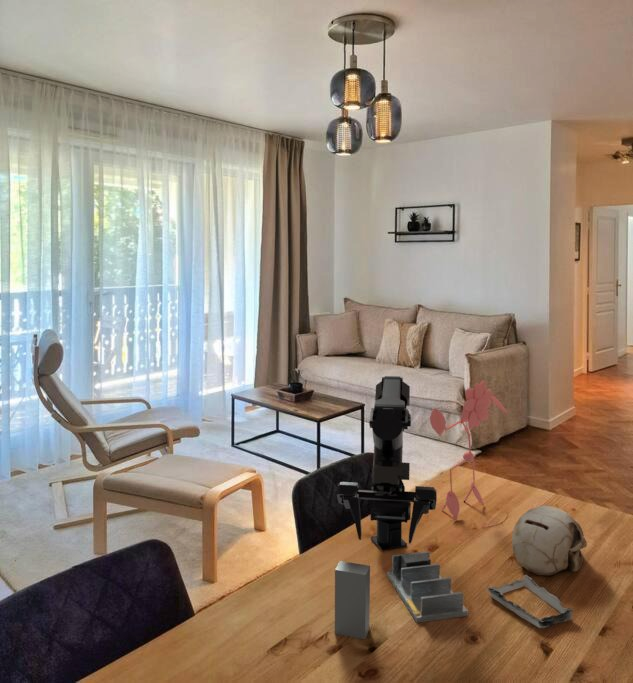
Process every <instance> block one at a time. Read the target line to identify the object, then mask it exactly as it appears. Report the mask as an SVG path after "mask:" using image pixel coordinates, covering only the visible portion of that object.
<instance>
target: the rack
mask: <svg viewBox="0 0 633 683" xmlns="http://www.w3.org/2000/svg"><path fill="white" fill-rule="evenodd" d="M430 555H431V554H430V551H429V550H428V551H420V552H419V551H418V552H412V553H411V552H409V553H402V554H393V555H392V556H391V557H392V559H391V560H392V561H391V563H392V564H391V570H387V572H386V573H387V574H386V576H387V579H389V580H390V583H391V584H392V586H393V588H394V589H395V590H396V592H397V593H398V595H399V596H400V598H401V600H402V602H403V604H404V605H405V607H406V608H407V609H408V611H409V613H410V615H411V616H412V618H413V619H414V621H415V622H416V624H418V623H426V622H433V621H439V620H448V619H453V618H461V617H468V616H469V610H468V609H467V608H466V607H465V605H464V593H463V592H462V591H458V592H453V590H452V589H451V588H452V578H451V576H448V577H442V576H441V575H440V573H441V571H440V569H441V566H440V565H441V564H440V563H433V564H432V562H431V561H432V560H431V558H430Z"/></svg>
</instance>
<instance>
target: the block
mask: <svg viewBox="0 0 633 683" xmlns="http://www.w3.org/2000/svg"><path fill="white" fill-rule="evenodd" d="M370 587H371V566H370V565H368V564H361V563H355V562H349V561H343V560H339V562H338V564H337V565H336V567H335V569H334V634H336V635H340V636H346V637H350V638H355V639H361V640H366V638H367V636H368V633H369V630H370V607H371V606H370V603H371V602H370V600H371V598H370V597H371V593H370V592H371V590H370V589H371V588H370Z"/></svg>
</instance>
